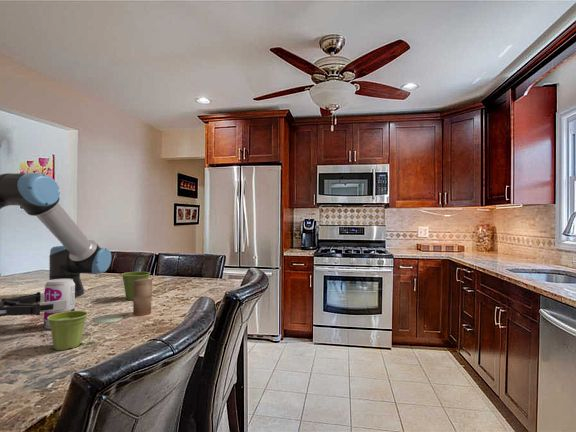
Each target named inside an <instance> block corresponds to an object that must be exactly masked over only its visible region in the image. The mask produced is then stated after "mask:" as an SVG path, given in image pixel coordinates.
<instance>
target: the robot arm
mask: <svg viewBox="0 0 576 432" xmlns="http://www.w3.org/2000/svg"><path fill="white" fill-rule="evenodd" d="M59 190H60V186H59V185H58V183H57V181H55V179H54V178H52V177H51V176H50V175H47V174H45V173H40V172H39V173H38V172H27V173H11V172H10V173H9V172H8V173H2V174H0V210H2V208H5V207H9V206H19V207H21V208H22V209H23V210H24V211H25V213H26V214H28V215H29V216H32V217H35V216H36V217H37V219H38V220H39V222H40V221H41V223H42V224H43V225H44V226H45V227H46V229H48V231H49V232H50V233H52V235H53V236H54V237H55V239H57V240H58V241H59V242H60V243H61V245H57V246H53V247H51V248H50V251H49V265H48V267H49V269H48V270H49V276H48V277H49V278H48V281H49V280H54V279H73V281H74V283H75V297H80V296H83V295H84V294H85V289H84V285H83V282H82V280H81V274H89V275H90V274H91V275H102V274H103V273H105V272H106V271H108V269H109V267H110V266H111V263H112V253H111V251H110V249H108V248H105V247H100V246H99V244H98V243H97V242H96V241H95V240H92V239H89V238H88V237H87V236H86V234H84V232H83V231H82V229H80V227H79V226H78V225H77V224H76V222H75V221H74V220H73V219H72V218H71V216H70V215H69V213H67V212H66V210H65V209H64V208H63V207H62V205H61V204H60V200H61V199H60V193H61V192H60V191H59ZM44 298H45V291H43V294H42V293H41V292H40V291H37V292H36V293H31V294H26V295H25V294H24V295H21V296H15V297H9V298H8V297H7V298H1V301H0V317H6V316H7V317H8V316H9V317H10V316H12V317H13V316H35V317H36V316H40V315H41V313H44V312H46V311H54V310H62V309H66V304H67V300H61V301H52V302H44Z"/></svg>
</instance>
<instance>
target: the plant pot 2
mask: <svg viewBox="0 0 576 432" xmlns="http://www.w3.org/2000/svg"><path fill="white" fill-rule="evenodd" d="M120 275H121V276H122V280H123V285H124V291H125V292H124V294H125V299H126V300H127V301H133V299H134V280H138V279H149V276H150V275H151V272H149V271H148V272H147V271H129V272H123V273H121V274H120Z"/></svg>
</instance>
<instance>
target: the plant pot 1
mask: <svg viewBox="0 0 576 432" xmlns="http://www.w3.org/2000/svg"><path fill="white" fill-rule="evenodd" d="M88 315H89V312H88V311H84V310H74V311H68V312H61V313H56V314H53V315H50V316H48V317H47V320H49V323H50V325H51V329H50V330H51V338H52V345H53V349H54V350H55V351H56V350H57V351H66V350H69V349H70V348H71V349H75V348H77V347H79V346H80V345H81V342H82V336H83V332H84V331H83V330H84V327H85V321H86V320H87V317H88Z"/></svg>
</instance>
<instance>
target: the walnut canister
mask: <svg viewBox="0 0 576 432" xmlns="http://www.w3.org/2000/svg"><path fill="white" fill-rule="evenodd" d="M152 292H153V280H152V279H150V278H148V279H138V280H134V299H133V300H132V301H133V305H132V306H133V307H132V308H133V310H132V312H133V315H135V316H145V315H149V314H151V310H152V296H153V295H152V294H153V293H152Z"/></svg>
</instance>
